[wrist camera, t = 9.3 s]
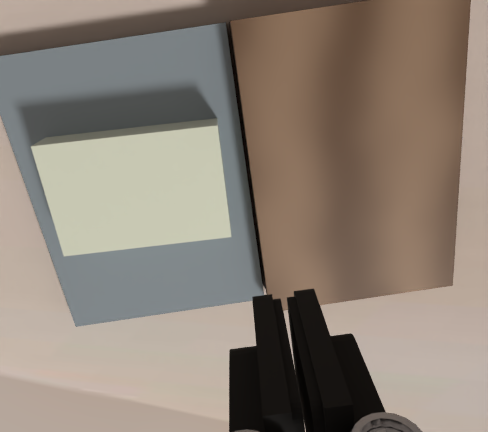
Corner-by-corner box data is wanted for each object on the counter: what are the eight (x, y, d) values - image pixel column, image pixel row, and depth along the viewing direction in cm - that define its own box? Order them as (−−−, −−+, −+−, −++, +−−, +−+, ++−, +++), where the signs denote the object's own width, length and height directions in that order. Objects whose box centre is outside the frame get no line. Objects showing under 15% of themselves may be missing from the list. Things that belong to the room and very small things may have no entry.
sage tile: (217, 118, 23) (217, 125, 21) (230, 222, 25) (231, 237, 23) (45, 137, 22) (30, 146, 21) (75, 240, 25) (63, 256, 23)
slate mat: (225, 22, 22) (225, 22, 21) (262, 290, 28) (264, 298, 27) (-10, 57, 22) (-20, 59, 21) (80, 317, 28) (75, 326, 27)
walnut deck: (444, -10, 22) (471, -15, 19) (433, 264, 28) (452, 285, 26) (229, 22, 22) (230, 20, 19) (265, 289, 28) (270, 312, 26)
